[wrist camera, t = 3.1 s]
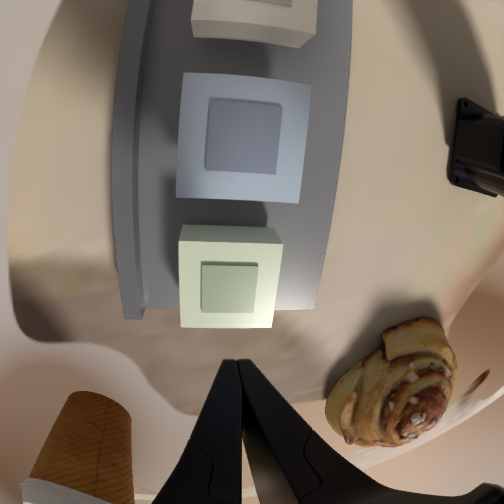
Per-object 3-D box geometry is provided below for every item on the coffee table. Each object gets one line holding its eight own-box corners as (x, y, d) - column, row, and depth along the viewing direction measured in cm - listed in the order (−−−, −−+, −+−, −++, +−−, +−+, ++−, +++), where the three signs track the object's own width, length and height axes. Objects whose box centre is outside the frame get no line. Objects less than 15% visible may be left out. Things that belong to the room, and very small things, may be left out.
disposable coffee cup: (99, 442, 23) (86, 536, 12) (34, 388, 19) (-3, 491, 8) (169, 430, 23) (168, 545, 12) (100, 366, 19) (64, 507, 8)
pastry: (447, 295, 21) (505, 349, 14) (430, 391, 28) (462, 436, 20) (310, 358, 21) (345, 443, 14) (330, 438, 28) (352, 494, 20)
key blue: (294, 92, 11) (313, 84, 9) (284, 191, 13) (299, 204, 11) (188, 82, 10) (183, 71, 8) (181, 186, 12) (175, 198, 10)
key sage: (273, 227, 15) (284, 245, 12) (263, 303, 16) (272, 329, 14) (182, 224, 14) (178, 242, 12) (183, 302, 16) (180, 329, 13)
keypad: (343, -1, 11) (362, -15, 9) (307, 298, 19) (320, 320, 17) (148, -22, 10) (140, -41, 8) (132, 296, 17) (124, 318, 15)
